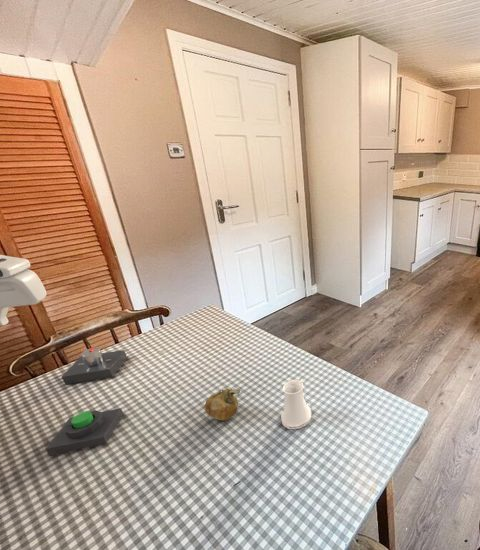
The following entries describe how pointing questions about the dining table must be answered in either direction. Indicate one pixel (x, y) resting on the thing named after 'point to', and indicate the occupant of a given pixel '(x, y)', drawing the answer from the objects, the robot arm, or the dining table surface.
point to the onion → (222, 404)
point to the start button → (82, 419)
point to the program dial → (92, 356)
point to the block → (86, 433)
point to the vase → (295, 406)
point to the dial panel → (95, 368)
